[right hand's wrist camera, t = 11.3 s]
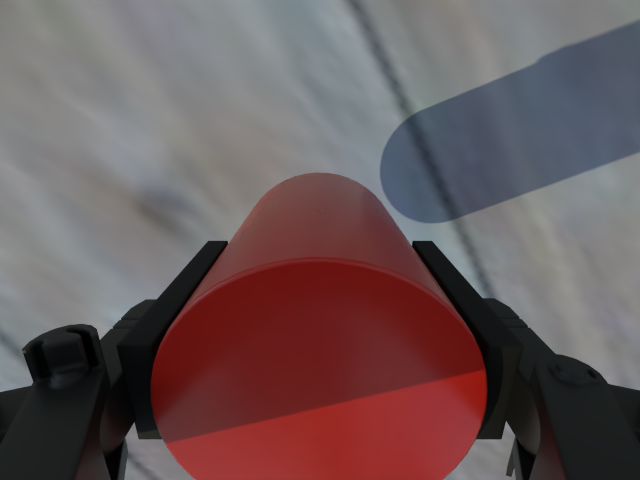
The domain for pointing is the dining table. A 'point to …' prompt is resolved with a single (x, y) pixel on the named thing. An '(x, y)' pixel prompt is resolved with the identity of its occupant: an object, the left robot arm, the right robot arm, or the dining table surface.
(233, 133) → the dining table surface
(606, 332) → the dining table surface
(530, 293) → the dining table surface
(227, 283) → the tin
